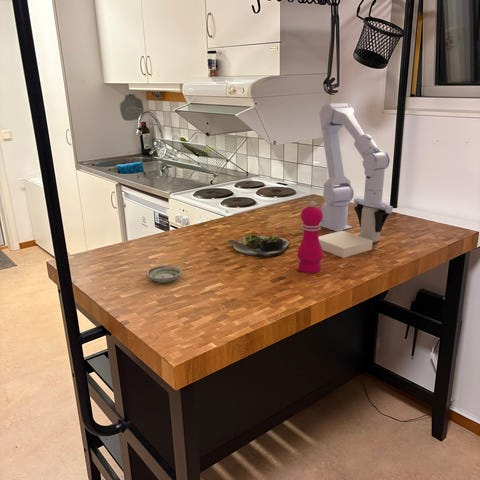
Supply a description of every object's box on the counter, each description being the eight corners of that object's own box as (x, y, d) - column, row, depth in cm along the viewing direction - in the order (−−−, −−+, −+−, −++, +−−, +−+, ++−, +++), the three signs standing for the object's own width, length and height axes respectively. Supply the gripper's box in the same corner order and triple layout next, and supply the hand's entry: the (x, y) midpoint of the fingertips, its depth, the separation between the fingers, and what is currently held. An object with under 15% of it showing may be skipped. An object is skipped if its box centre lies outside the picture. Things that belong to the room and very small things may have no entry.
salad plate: (217, 253, 149) (217, 239, 148) (240, 237, 165) (240, 224, 163) (275, 262, 142) (275, 247, 140) (293, 244, 157) (294, 231, 156)
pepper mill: (292, 266, 138) (294, 199, 131) (314, 263, 140) (317, 197, 134) (304, 275, 131) (307, 205, 125) (327, 271, 134) (330, 202, 127)
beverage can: (379, 244, 156) (383, 208, 152) (359, 242, 157) (362, 207, 153) (378, 238, 162) (381, 203, 158) (359, 236, 163) (361, 203, 159)
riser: (313, 246, 154) (314, 237, 153) (341, 239, 161) (342, 230, 160) (343, 257, 144) (344, 248, 143) (371, 249, 151) (372, 240, 150)
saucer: (189, 279, 130) (189, 270, 129) (162, 290, 123) (161, 281, 122) (166, 270, 136) (166, 262, 135) (139, 280, 129) (138, 272, 128)
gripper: (400, 191, 151) (396, 232, 155) (364, 184, 162) (361, 222, 166) (385, 194, 147) (381, 236, 151) (350, 186, 158) (347, 225, 162)
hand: (370, 229), depth 158 cm, fingers closed on beverage can, 6 cm apart
